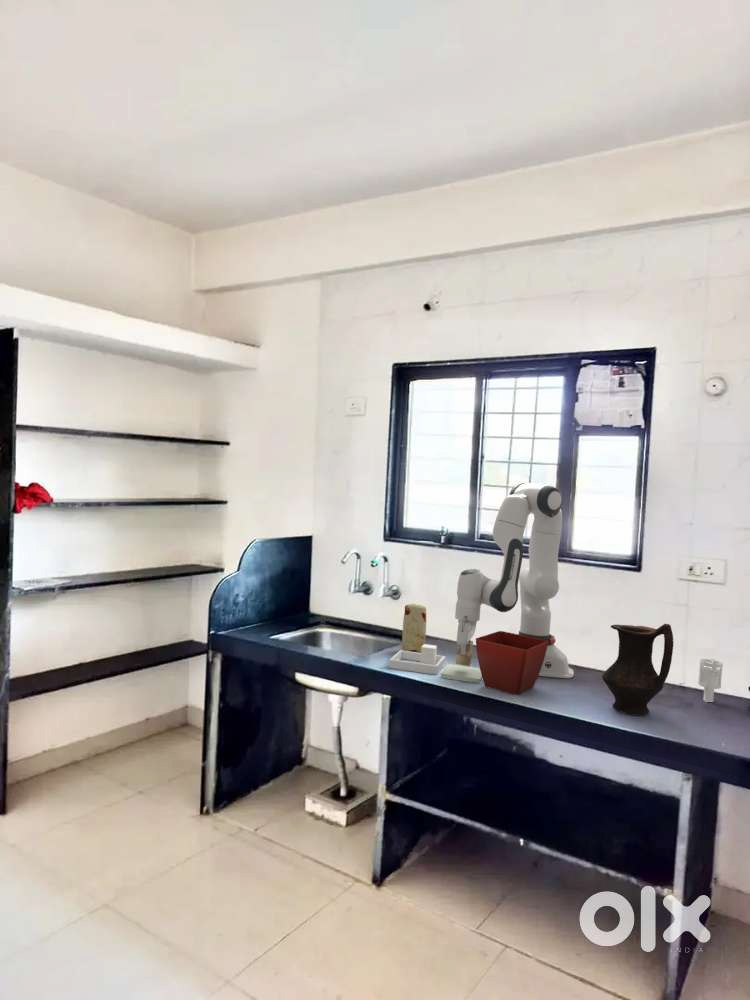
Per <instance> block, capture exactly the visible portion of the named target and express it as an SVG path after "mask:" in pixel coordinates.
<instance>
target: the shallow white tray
mask: <svg viewBox="0 0 750 1000" xmlns="http://www.w3.org/2000/svg"><path fill="white" fill-rule="evenodd" d="M395 653H396V654H394V655H393V656H392V657H391V658H390V659H389V661H388V669H393V670H401V671H408V672H416V673H423V674H428V675H436V676H437V675H438V674H439V673H440V672H441V670H443V667H444V666H445V665H446V657H447V656H445V655H439V654H437V657H436V665H428V664H421V663H420V660H421V653H417V652H410V651H404V650H402V649H400V650H399V651H398V652H395ZM404 660H405V661H404ZM406 660H407V661H406ZM411 661H412V662H411ZM414 661H415V662H414Z"/></svg>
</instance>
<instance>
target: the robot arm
mask: <svg viewBox="0 0 750 1000" xmlns="http://www.w3.org/2000/svg"><path fill="white" fill-rule="evenodd" d="M562 505H563V495H562V492H561V491H560V489H559V488H558V487H555V486H554V485H550V484H545V483H543V484H542V483H537V482H536V483H535V482H534V483H533V482H531V483H527V482H520V483H517V484H515V485H514V486H513V487H512V488H511V490H510V491H509V494H508V495H507V496H506V497H504V499H503V501H502V503H501V505H500V507H499V509H498V511H497V515H496V518H495V521H494V524H493V529H492V539H493V540H494V542H495V543H496V545H497V546H498V547H499V548H500V550H501V551H502V554H503V557H504V559H503V560H504V561H503V565H502V570H501V575H500V576H501V577H500V580H496V579H493V578H491V577H489V576H487V575H486V574H484V573H483V572H482V571H481V570H480V569H476V568H473V569H472V568H471V569H465V570H463V571H461V572H460V574H459V576H458V581H457V589H456V596H457V599H456V600H457V601H456V603H455V612H454V614H455V615H454V618H455V620H458V622H457V623H458V626H457V632H456V633H457V634H456V645H457V644H459V645H460V647H461V654H462V655H465V654H466V645H467V643H468V642H469V641H471V639H472V638H473V636H474V635H475V632H476V628H477V622H479V621H480V618H481V606H482V605H486V606H488V607H490V608H493V609H494V610H496V611H498V612H500V613H507V612H510V611H511V610H513V608H515V606H516V605H517V602H518V600H519V592H520V610H521V611H520V612H521V614H520V626H519V627H520V628H519V631H518V633H517V634H518V635H523V636H528V637H533V638H537V639H542V640H546V641H548V646H547V650H546V654H545V658H544V661H543V664H542V667H541V670H540V673H539V675H538V677H548V678H549V677H550V678H558V679H559V678H561V679H571V678H573V677H574V676H575V672H574V670H573V668H571V667H569V661H568V657H567V655H566V654H565V653H564V652H562V650H560V648H559V647H557V646H556V645H555V643H556V637H555V635H552V634H551V633H550V632H551V631H550V630H551V619H552V618H551V617H552V614H551V613H552V612H551V609H550V602H549V601H550V600H551V599H553V598H554V597H555V596H556V595H557V594H559V593H558V592H559V590H560V583H559V580H558V579H559V563H558V562H559V550H560V543H561V542H560V541H561V538H562V530H563V529H562V528H563V512H562V509H561V508H562ZM530 514H533V518H534V519H533V521H532V524H531V525H532V526H531V532H530V539H529V545H528V558H529V564H528V566H527V567H525V568H523V569H522V570H521V568H522V562H523V557H524V545H523V543H524V541H523V539H524V533H525V530H526V526H527V522H528V517H529V515H530ZM518 586H519V587H518Z"/></svg>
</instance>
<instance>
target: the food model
mask: <svg viewBox="0 0 750 1000" xmlns="http://www.w3.org/2000/svg"><path fill="white" fill-rule="evenodd" d="M401 634H402V636H401V639H402V640H401V650H402V651H410V652H417V653H421V647H422V646H423V645H424V644H426V643H425V642H426V634H427V607H426V606H425V605H421V604H415V603H409V604H406V605H405V606H404V613H403V620H402V633H401Z"/></svg>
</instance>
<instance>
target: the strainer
mask: <svg viewBox="0 0 750 1000" xmlns="http://www.w3.org/2000/svg"><path fill="white" fill-rule="evenodd" d="M723 664H724V663H723V662H722V661H719V660H717V659H715V658H701V659H700V660H699V670H698V671H699V673H698V682H697V684H698V685H699V686H701V687H704V688H703V700H704V701H705V702H704V701H703V700H702V701H703V702H704V703H707V702H713V703H714V697H715V696H714V695H715V690H718V689H721V688H722V676H723V675H722V674H723Z"/></svg>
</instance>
